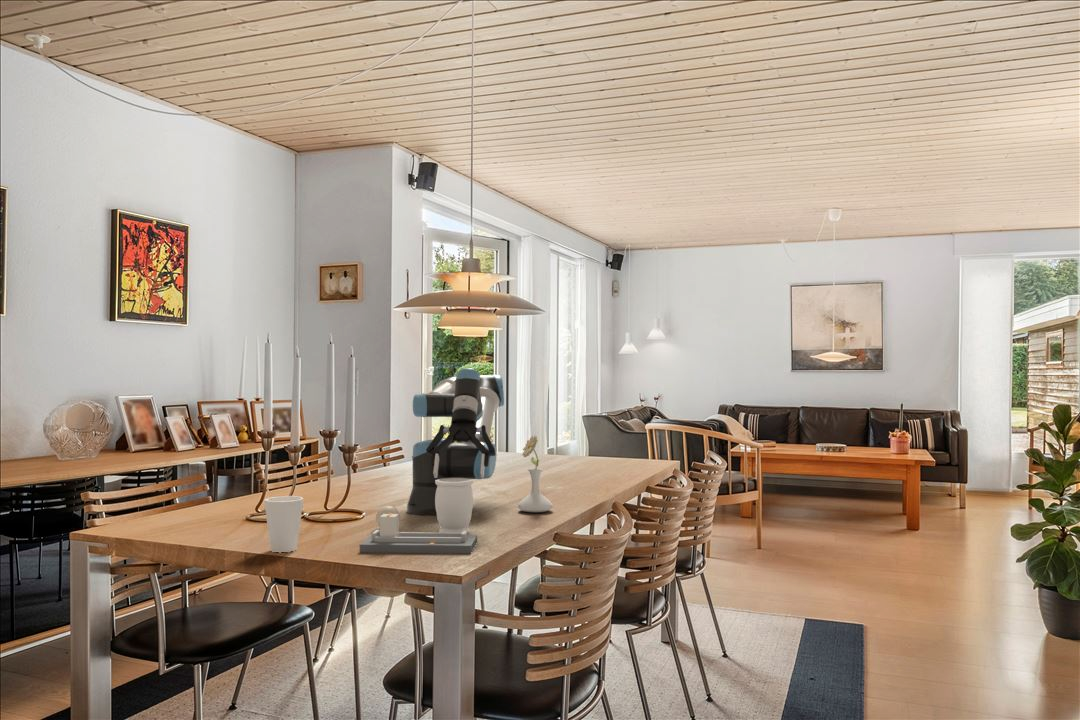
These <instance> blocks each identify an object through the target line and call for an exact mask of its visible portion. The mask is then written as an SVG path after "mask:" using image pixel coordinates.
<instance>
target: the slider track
mask: <svg viewBox="0 0 1080 720" xmlns="http://www.w3.org/2000/svg"><path fill="white" fill-rule="evenodd" d="M431 542H435V543H434V545H429V544H430V543H431ZM476 543H477V544H478V534H469V533H468V530H464V531H463V532H462V533H439V531H438V532H437V531H436V532H430V531H429V532H425V531H423V532H422V531H421V532H420V531H418V532H417V531H408V532H406V531H401V532H400V531H399V537H380V529H375V530H374V531H372V533H371V535H370V536H368V537H367V538H366V539H365V540H363V542H361V543H360V544H359V554H367V553H368V554H370V553H371V554H372V553H373V554H374V553H375V554H376V553H377V554H452V553H471V552H472V553H473V551H474V549H475V547H476V546H477V544H476ZM475 545H476V546H475ZM473 548H474V549H473ZM472 550H473V551H472ZM361 552H362V553H361ZM472 553H471V554H472Z"/></svg>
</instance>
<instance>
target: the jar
mask: <svg viewBox="0 0 1080 720" xmlns="http://www.w3.org/2000/svg"><path fill="white" fill-rule="evenodd" d="M473 482H474V479H468V478H443V479H437V480H435V484H436V485H437V489H436V495H435V507H436V513H437V514H436V518H437V523H438V524H439V527H440V528H439V530H438V533H462V532H463V531H464V530H468V534H469V533H470V530H469V529H470V528H469V525H470V522H471V520H472V512H473V508H474V493H473V488H472V485H473Z"/></svg>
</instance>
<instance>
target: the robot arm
mask: <svg viewBox="0 0 1080 720" xmlns="http://www.w3.org/2000/svg"><path fill="white" fill-rule="evenodd" d="M503 380H504V379H503V377H502V376H501V375H500V374H493V373H492V374H491V373H490V374H481V373H480V372H479V371H478V370H477V369H474V368H471V367H468V368H467V367H464V368H461V369H460V370H458V371H457V373H456V375H453V376H448V377H447V378H445V379H442V380H441V381H439V382H437V384H436V385H435V386H434V389H432V390H431V391H429V392H428V393H424V392H423V393H416V394H414V396H413V398H412V413H413V415H414V417H417V418H451V422H450V426H449V427H448V426H444V425H443V424H441V425H440V426H439V428H438V432H437V433H436V435H435V436H434V438H433V439H426V440H421V441H418V442H415V444H413V446H412V456H411V459H412V488H411V491H410V495H409V498H408V501H407V503H406V513H409V514H413V515H423V516H425V515H426V516H429V515H430V516H431V515H433V516H435V515H436V516H437V513H436V507H435V495H436V489H437V485H436V484H435V480H437V479H443V478H468V479H472V480H482V479H483V480H485V479H486V480H487V479H490V478H492V476H493V475H494V472H495V469H496V466H497V465H496V462H497V446H496V444H495V443H493V442H492V440H491V438H490V437H491V433H492V427H493V426H492V425H493V420H494V414H495V412H496V411H497V410H498V408H499V407H503V406H504V405H505V396H504V382H503ZM448 433H449V434H448ZM447 434H448V435H447ZM446 435H447V437H446V438H444V436H446Z"/></svg>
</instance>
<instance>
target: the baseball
mask: <svg viewBox="0 0 1080 720" xmlns="http://www.w3.org/2000/svg"><path fill="white" fill-rule="evenodd" d="M390 513H392V514H399V521H401V520H400V519H401V515H400V512H399V510H398V509H397V508H396V507H395V506H393V505H384V506H381V507H380V508H379V509H378V510H377V511H376V514H375V523H376V524H377V526H378V527H379V528H380V516H382V515H383V514H390Z"/></svg>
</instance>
